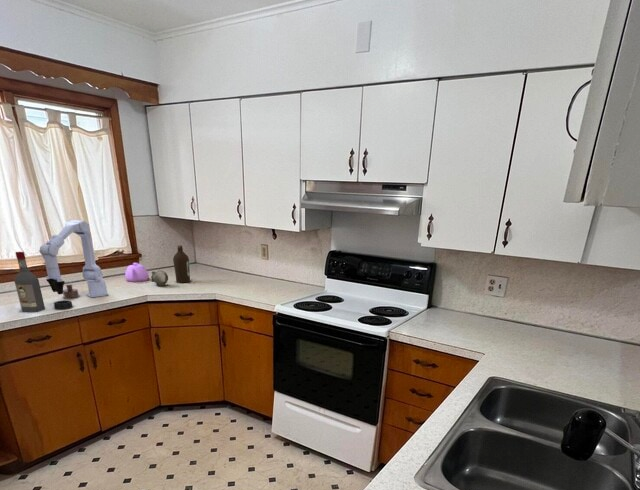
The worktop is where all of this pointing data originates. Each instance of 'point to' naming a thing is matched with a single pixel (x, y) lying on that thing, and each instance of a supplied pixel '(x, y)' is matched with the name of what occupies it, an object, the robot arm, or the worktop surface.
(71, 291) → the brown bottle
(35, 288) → the liquor
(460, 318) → the worktop surface
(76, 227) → the robot arm
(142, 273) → the teapot
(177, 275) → the olive oil
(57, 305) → the rubber collar
